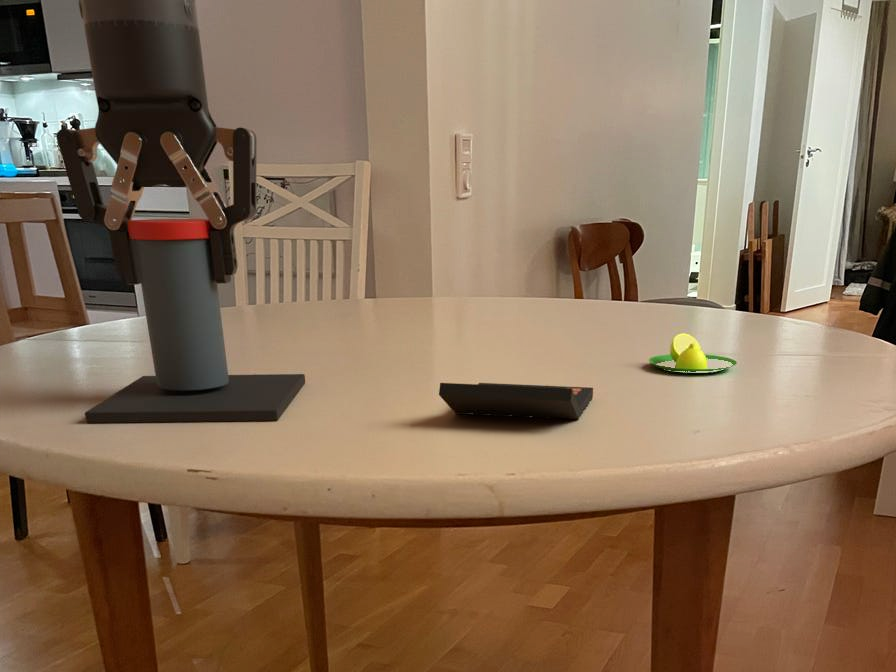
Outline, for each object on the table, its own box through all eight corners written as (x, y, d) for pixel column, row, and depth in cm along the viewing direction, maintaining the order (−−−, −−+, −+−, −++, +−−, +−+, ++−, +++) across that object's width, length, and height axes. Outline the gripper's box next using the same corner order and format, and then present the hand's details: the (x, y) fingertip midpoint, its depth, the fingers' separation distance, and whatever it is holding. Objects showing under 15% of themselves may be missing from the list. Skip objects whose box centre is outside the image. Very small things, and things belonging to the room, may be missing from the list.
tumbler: (143, 392, 71) (115, 222, 66) (165, 376, 77) (141, 218, 71) (223, 391, 71) (202, 221, 66) (240, 376, 77) (221, 218, 71)
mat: (86, 423, 67) (83, 412, 67) (144, 385, 80) (142, 375, 79) (278, 421, 67) (276, 410, 67) (305, 383, 80) (304, 373, 80)
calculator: (592, 398, 74) (594, 360, 72) (569, 433, 63) (571, 389, 62) (479, 393, 76) (479, 355, 74) (439, 426, 66) (438, 383, 64)
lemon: (631, 364, 87) (633, 333, 86) (701, 358, 90) (704, 327, 88) (681, 379, 80) (684, 345, 79) (754, 371, 83) (758, 339, 82)
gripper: (257, 30, 66) (281, 277, 74) (57, 31, 66) (101, 279, 74) (235, 13, 60) (264, 287, 67) (12, 14, 59) (66, 289, 67)
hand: (179, 282), depth 70 cm, fingers closed on tumbler, 6 cm apart
